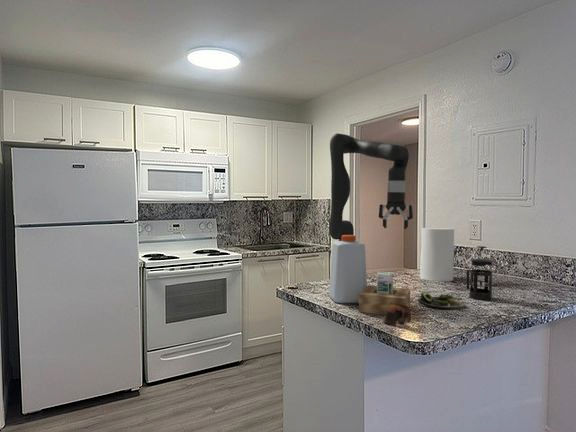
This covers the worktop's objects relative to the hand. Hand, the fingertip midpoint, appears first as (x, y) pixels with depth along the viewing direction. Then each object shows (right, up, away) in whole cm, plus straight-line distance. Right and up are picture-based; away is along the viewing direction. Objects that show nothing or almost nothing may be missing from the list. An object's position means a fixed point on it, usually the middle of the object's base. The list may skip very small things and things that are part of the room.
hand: (395, 228), depth 176 cm
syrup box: (-8, -32, -16) cm, 36 cm away
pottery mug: (-8, -33, -34) cm, 48 cm away
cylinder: (+36, -29, +48) cm, 67 cm away
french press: (+39, -31, +3) cm, 50 cm away
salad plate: (+16, -32, -8) cm, 37 cm away
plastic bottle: (-21, -31, -1) cm, 37 cm away
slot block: (-8, -32, -16) cm, 36 cm away
